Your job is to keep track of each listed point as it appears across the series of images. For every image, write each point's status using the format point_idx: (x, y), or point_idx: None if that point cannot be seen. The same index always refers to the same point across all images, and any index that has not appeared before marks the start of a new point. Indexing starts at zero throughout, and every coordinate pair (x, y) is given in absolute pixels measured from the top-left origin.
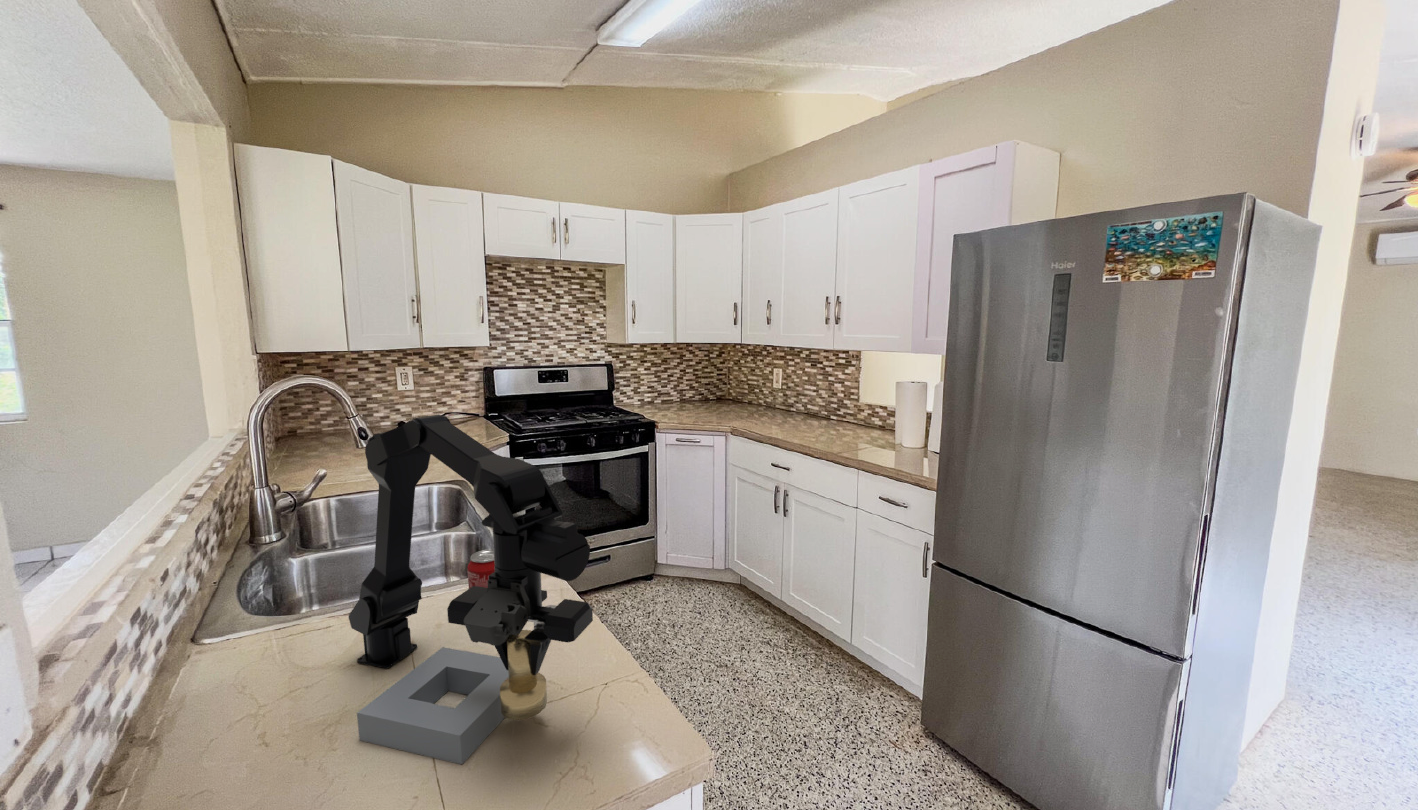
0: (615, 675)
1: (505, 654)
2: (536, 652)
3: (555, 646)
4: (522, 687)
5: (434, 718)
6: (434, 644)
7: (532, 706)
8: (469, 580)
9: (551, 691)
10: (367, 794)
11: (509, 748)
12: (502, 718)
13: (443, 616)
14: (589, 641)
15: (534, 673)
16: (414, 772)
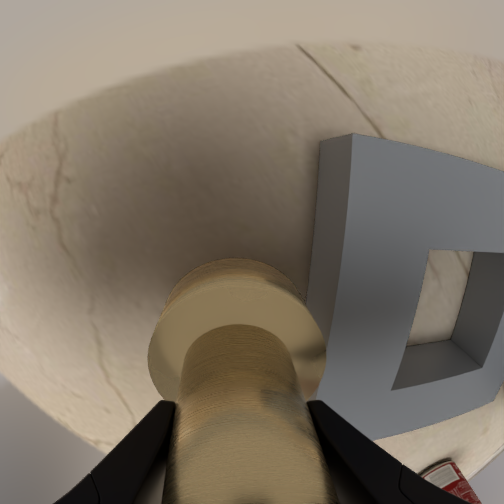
0: None
1: (341, 461)
2: (76, 496)
3: None
4: (206, 344)
5: (454, 196)
6: (486, 405)
7: (167, 302)
8: (478, 501)
9: None
10: (438, 57)
11: (230, 217)
12: (307, 305)
13: (482, 442)
14: None
15: (157, 405)
16: (404, 109)
